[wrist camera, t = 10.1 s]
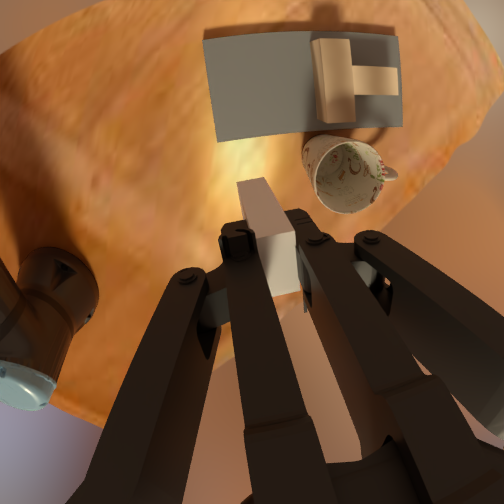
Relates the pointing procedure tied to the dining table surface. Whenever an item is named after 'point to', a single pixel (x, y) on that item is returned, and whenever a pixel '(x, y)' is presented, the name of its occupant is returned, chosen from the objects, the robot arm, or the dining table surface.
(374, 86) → the t block
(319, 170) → the mug
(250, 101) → the board
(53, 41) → the dining table surface
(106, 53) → the dining table surface
